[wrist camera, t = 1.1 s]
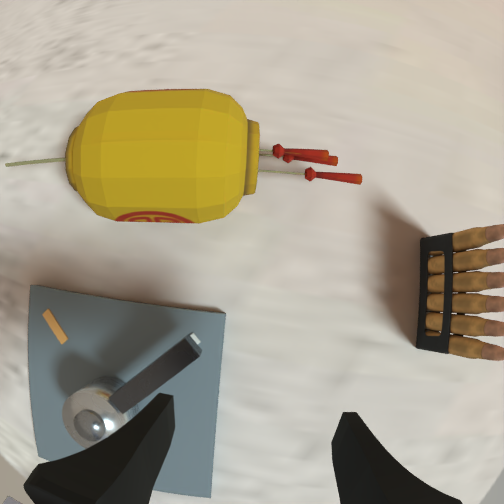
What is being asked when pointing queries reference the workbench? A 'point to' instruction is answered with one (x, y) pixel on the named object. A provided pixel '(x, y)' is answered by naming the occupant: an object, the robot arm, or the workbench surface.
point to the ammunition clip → (460, 293)
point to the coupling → (121, 395)
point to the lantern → (172, 156)
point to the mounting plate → (125, 372)
